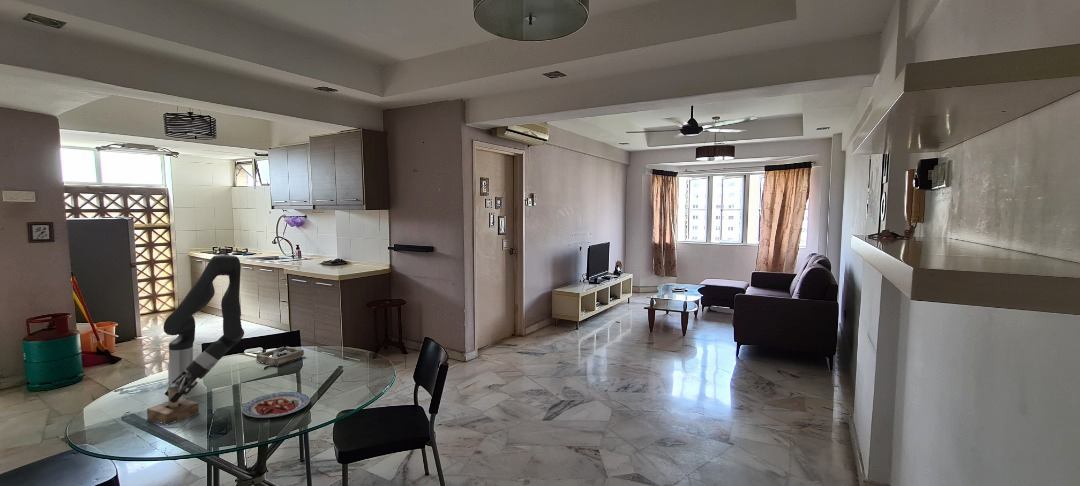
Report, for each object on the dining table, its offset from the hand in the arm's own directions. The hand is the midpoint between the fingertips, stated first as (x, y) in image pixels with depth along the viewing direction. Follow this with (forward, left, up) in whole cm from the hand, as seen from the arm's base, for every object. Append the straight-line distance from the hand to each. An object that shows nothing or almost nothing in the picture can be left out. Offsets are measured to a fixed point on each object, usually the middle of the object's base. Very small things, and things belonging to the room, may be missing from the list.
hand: (169, 398), depth 188 cm
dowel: (0, +1, -7) cm, 7 cm away
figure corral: (-21, +70, -8) cm, 74 cm away
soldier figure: (-21, +67, -8) cm, 71 cm away
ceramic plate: (+30, +24, -8) cm, 40 cm away
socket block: (0, +1, -8) cm, 8 cm away
